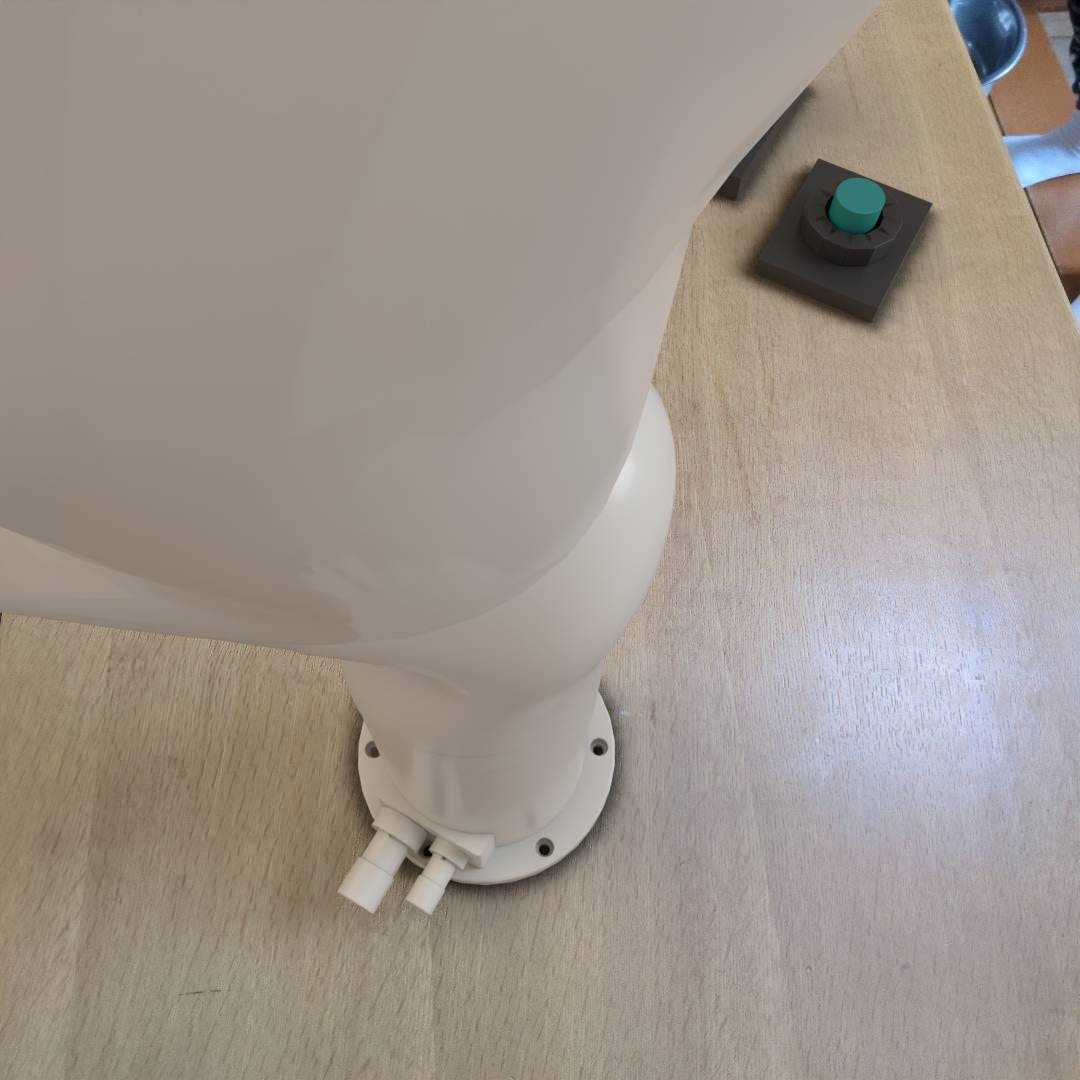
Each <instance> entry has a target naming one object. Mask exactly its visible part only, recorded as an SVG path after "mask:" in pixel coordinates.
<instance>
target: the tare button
mask: <svg viewBox="0 0 1080 1080" xmlns="http://www.w3.org/2000/svg"><path fill="white" fill-rule="evenodd" d="M884 204H885V194H884V192H883V190H882V189H881V188H880V187H879V186H878V185H877V184H876V183H874V182H873V181H870V180H868V179H864V178H850V179H847V180H845V181H843V182H842V183H841V184H840V185H839V186H838V187H837V190H836V192H835V195H834V198H833V201H832V203H831V206H830V209H829V218H830V220H831V222H832V224H833V225H834V226H835V227H836V228H838V229H840V230H842V231H845V232H847V233H849V234H863V233H866V232H868V231H870V230H871V229H873V227H874V226H875V225H876V222H877V220H878V218H879V215H880V213H881V211H882V208H883V206H884Z"/></svg>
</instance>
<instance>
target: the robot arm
mask: <svg viewBox="0 0 1080 1080" xmlns="http://www.w3.org/2000/svg"><path fill="white" fill-rule="evenodd" d="M884 2H885V0H0V614H6V615H15V616H23V617H30V618H37V619H45V620H51V621H52V620H53V621H59V622H65V623H66V622H67V623H73V624H80V625H88V626H95V627H103V628H110V629H117V630H124V631H130V632H131V631H132V632H141V633H149V634H158V635H165V636H174V637H175V636H176V637H184V638H191V639H203V640H213V641H220V642H228V643H235V644H242V645H249V646H256V647H257V646H258V647H265V648H269V649H270V648H271V649H278V650H284V651H286V650H287V651H292V652H297V653H299V654H301V655H306V656H313V657H321V658H328V659H334V660H339V663H340V667H341V671H342V675H343V679H344V681H345V685H346V686H347V689H348V692H349V694H350V696H351V698H352V700H353V702H354V704H355V706H356V708H357V710H358V711H359V713H360V715H361V717H362V719H363V720H362V726H361V730H360V734H359V735H360V736H359V740H358V753H357V754H358V759H357V769H358V773H359V774H358V775H359V781H360V785H361V792H362V794H363V797H364V799H365V802H366V805H367V807H368V809H369V812H370V814H371V816H372V819H373V821H372V823H371V827H372V828H373V829H374V830H375V831H376V832H375V834H374V836H373V837H372V839H371V840H370V842H369V843H368V845H367V847H366V849H364V852H363V853H362V854H361V856H357V859H356V860H355V861H354V863H353V865H352V867H351V868H350V870H349V871H348V873H347V875H346V876H345V877H344V879H343V881H342V882H341V884H340V885H339V887H338V888H337V891H336V893H337V894H339V895H340V896H342V897H343V898H344V899H345V900H348V901H349V902H351V903H352V904H354V905H355V906H357V907H358V908H360V909H362V910H364V911H365V912H367V913H369V914H371V915H375V913H376V911H377V910H378V908H379V906H380V904H381V903H382V901H383V899H384V898H385V896H386V894H387V893H388V891H389V890H390V888H391V886H392V884H393V883H394V881H395V878H394V877H395V876H396V875H397V872H398V870H399V869H400V867H401V865H402V864H403V862H404V860H405V859H408V860H409V861H410V862H412V864H414V865H416V866H418V867H420V868H421V869H423V870H422V872H421V874H418V876H417V878H416V879H415V881H414V883H413V884H412V886H411V888H410V889H409V891H408V892H407V895H406V897H405V898H404V901H405V902H406V903H408V904H409V905H411V906H412V907H414V909H417V910H419V912H422V913H424V914H425V915H427V916H430V917H431V916H432V915H433V913H434V911H435V909H436V908H437V906H438V904H439V902H440V900H442V897H443V895H444V894H445V892H446V887H447V886H448V884H449V883H450V881H453V882H455V883H456V882H457V883H460V884H468V885H469V884H470V885H480V886H481V885H482V886H491V885H499V884H508V883H509V884H510V883H514V882H517V881H520V880H524V879H527V878H529V877H533V876H537V875H538V874H540V873H541V872H543V871H545V870H547V869H548V868H551V867H552V866H554V865H556V864H558V863H559V862H561V861H562V860H563V859H564V858H565V857H567V855H569V854H570V853H571V852H572V851H573V850H575V849H576V848H578V846H579V845H580V844H581V842H582V841H583V840H584V839H585V838H586V837H587V835H588V834H589V832H591V830H592V829H593V827H594V826H595V824H596V822H597V821H598V819H599V817H600V815H601V813H602V811H603V809H604V807H605V805H606V802H607V799H608V796H609V793H610V790H611V786H612V782H613V776H614V770H615V765H616V760H615V759H616V739H615V735H614V730H613V725H612V721H611V720H612V719H611V717H610V713H609V711H608V709H607V706H606V704H605V702H604V699H603V697H602V695H601V693H600V691H599V689H600V685H601V679H602V677H603V676H602V675H603V671H604V668H605V663H606V659H607V655H609V653H610V652H611V651H612V649H613V648H615V646H616V644H617V643H618V642H619V641H620V639H621V638H622V637H623V636H624V634H625V632H626V631H627V629H628V628H629V626H630V625H631V623H632V622H633V620H634V618H635V617H636V615H637V614H638V612H639V610H640V608H641V607H642V605H643V603H644V601H645V599H646V597H647V596H648V594H649V591H650V589H651V586H652V584H653V582H654V579H655V577H656V575H657V573H658V569H659V567H660V564H661V561H662V558H663V555H664V552H665V547H666V544H667V540H668V536H669V531H670V527H671V521H672V516H673V512H674V504H675V496H676V486H677V484H676V483H677V462H676V461H677V459H676V449H675V448H676V446H675V440H674V435H673V431H672V427H671V422H670V418H669V415H668V412H667V410H666V408H665V405H664V402H663V400H662V398H661V396H660V394H659V392H658V391H657V389H656V387H655V386H654V384H653V383H652V380H653V377H654V373H655V368H656V365H657V362H658V358H659V354H660V352H661V351H660V350H661V348H662V347H661V346H662V344H663V343H662V342H663V339H664V335H665V331H666V328H667V323H668V320H669V316H670V313H671V309H672V305H673V302H674V298H675V296H676V291H677V288H678V285H679V281H680V277H681V273H682V269H683V265H684V260H685V257H686V253H687V250H688V246H689V242H690V238H691V234H692V230H693V226H694V223H695V222H696V220H697V219H698V218H699V216H700V215H701V214H702V213H703V211H704V210H705V208H706V207H707V206H708V205H709V203H710V202H711V200H712V199H713V198H714V197H715V195H717V194H716V192H717V191H718V190H719V188H720V187H721V186H722V184H723V183H724V182H725V180H726V179H727V178H728V176H729V175H730V174H731V172H732V171H733V170H734V168H735V167H736V166H737V165H738V163H739V162H740V161H741V160H742V159H743V158H744V157H745V156H746V154H747V153H748V152H749V151H750V150H751V149H752V148H753V147H754V145H755V144H756V143H757V142H758V141H759V140H760V139H761V138H762V136H763V135H764V134H765V133H766V132H767V131H768V130H769V129H770V127H771V126H772V125H773V124H774V123H775V122H776V121H777V120H778V118H779V117H780V116H781V115H782V114H783V113H784V112H785V111H786V109H787V108H788V107H789V106H790V105H791V104H792V103H793V102H794V100H795V99H796V98H797V97H798V96H799V95H800V94H801V93H802V92H803V90H804V89H805V88H806V87H808V86H809V85H810V84H811V83H812V82H813V80H814V79H815V78H816V77H817V76H818V74H820V73H821V72H822V70H823V69H824V68H825V67H826V66H827V65H828V63H830V62H831V60H832V59H833V58H834V57H835V56H836V55H837V54H838V53H839V51H840V50H841V49H842V48H843V47H844V46H845V45H846V44H847V43H848V41H849V40H850V39H851V38H852V37H853V36H854V35H855V34H856V33H857V31H859V29H861V27H862V26H863V25H864V24H865V23H866V22H867V20H868V19H870V17H871V16H872V15H873V14H874V13H875V12H876V10H877V9H878V8H879V7H880V6H881V5H882V4H883V3H884ZM806 89H807V88H806ZM595 748H600V749H601V750H602V753H601V754H597V753H594V749H595ZM375 750H377V751H378V754H379V755H378V756H376V757H374V756H372V753H373V752H374V751H375ZM543 846H546V847H547V848H548V850H549V852H548V853H547V854H541V852H540V848H542V847H543ZM426 848H428V851H429V852H430V853H431V855H430V856H426V855H425V854H424V851H425V850H426Z"/></svg>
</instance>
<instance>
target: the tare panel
mask: <svg viewBox="0 0 1080 1080" xmlns="http://www.w3.org/2000/svg"><path fill="white" fill-rule="evenodd" d="M850 178H864V179H868V180H870V181H873V182H874V183H876V184H877V185H878V186H879V187H880V188H881V189H882V190H883V192H884V194H885V204H884V206H883V208H882V211H881V213H880V215H879V218H878V220H877V222H876V225H875V226H874V227H873V229H871V230H870V231H868V232H866V233H863V234H849V233H847V232H845V231H842V230H840V229H838V228H836V227H835V226H834V225H833V224H832V222H831V220H830V218H829V209H830V206H831V203H832V201H833V198H834V195H835V192H836V190H837V187H838V186H839V185H840V184H841V183H842V182H843V181H845V180H847V179H850ZM932 207H933V202H931V201H928V200H926V199H923V198H921V197H918V196H916V195H913V194H910V193H908V192H906V191H903V190H901V189H898V188H895V187H893V186H891V185H888V184H885V183H882V182H880V181H878V180H875V179H873V178H870V177H867V176H865V175H863V174H860V173H857V172H855V171H853V170H849V169H847V168H845V167H842V166H839V165H837V164H834V163H832V162H829V161H827V160H824V159H822V158H819V157H818V158H817V160H816V161H815V163H814V164H813V166H812V167H811V169H810V171H809V173H808V174H807V176H806V178H805V180H804V181H803V183H802V185H801V186H800V188H799V190H798V191H797V193H796V195H795V196H794V198H793V199H792V201H791V202H790V204H789V206H788V208H787V209H786V211H785V213H784V215H783V216H782V218H780V219H781V220H780V221H779V222H778V223H777V224H778V225H777V226H776V228H775V229H774V231H773V233H772V234H771V236H770V238H769V239H768V241H767V243H766V244H765V246H764V248H763V249H762V251H761V253H760V254H759V256H758V258H757V259H756V260H757V261H756V263H755V266H754V270H753V274H755V275H757V276H759V277H762V278H764V279H767V280H769V281H770V282H773V283H776V284H778V285H781V286H783V287H785V288H788V289H790V290H792V291H795V292H797V293H799V294H802V295H804V296H806V297H809V298H811V299H813V300H816V301H817V302H818V301H819V302H820V303H822V304H825V305H828V306H830V307H832V308H835V309H837V310H839V311H842V312H844V313H847V314H849V315H850V316H854V317H856V318H858V319H861V320H863V321H865V322H868V323H870V324H872V323H873V321H874V319H875V317H876V315H877V314H878V311H879V310H880V307H881V306H882V304H883V302H884V300H885V298H886V297H887V294H888V292H889V291H890V289H891V287H892V285H893V283H894V281H895V279H896V277H897V275H898V273H899V271H900V269H901V268H902V266H903V263H904V261H905V259H906V257H907V255H908V253H909V252H910V250H911V248H912V246H913V244H914V242H915V240H916V238H917V236H918V235H919V232H920V230H921V229H922V228H923V225H924V224H925V221H926V219H927V217H928V215H929V212H930V211H931V209H932Z"/></svg>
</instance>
